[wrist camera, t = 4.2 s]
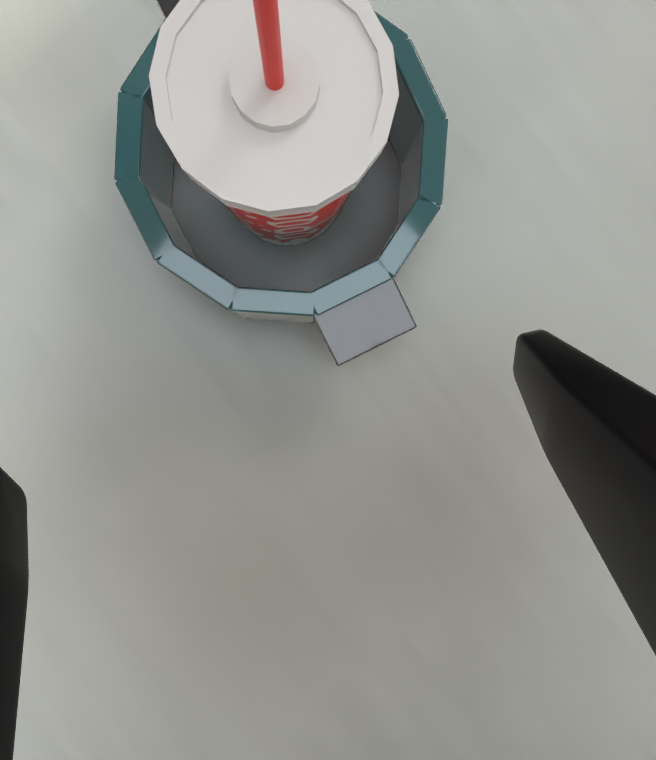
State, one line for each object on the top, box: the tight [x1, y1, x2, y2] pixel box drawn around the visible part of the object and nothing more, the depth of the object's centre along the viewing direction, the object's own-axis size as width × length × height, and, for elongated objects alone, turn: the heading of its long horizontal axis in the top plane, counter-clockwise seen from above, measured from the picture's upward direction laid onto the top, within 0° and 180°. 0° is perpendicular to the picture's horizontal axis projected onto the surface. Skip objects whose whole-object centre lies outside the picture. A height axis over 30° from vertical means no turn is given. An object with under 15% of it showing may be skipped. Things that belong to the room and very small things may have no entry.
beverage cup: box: [149, 0, 399, 246], centre depth 16 cm, size 6×6×14 cm
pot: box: [114, 0, 448, 366], centre depth 21 cm, size 11×14×4 cm
